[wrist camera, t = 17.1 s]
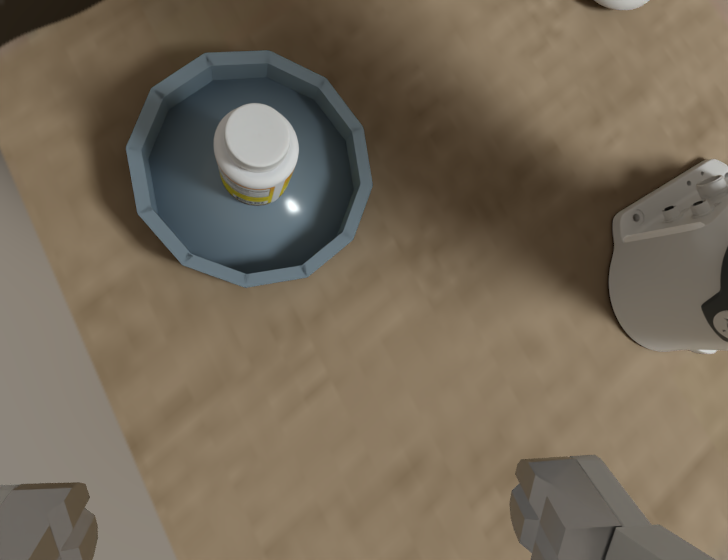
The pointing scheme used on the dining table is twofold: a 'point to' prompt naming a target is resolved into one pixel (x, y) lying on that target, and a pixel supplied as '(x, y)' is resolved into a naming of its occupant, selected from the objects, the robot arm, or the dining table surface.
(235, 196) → the supplement bottle
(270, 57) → the slate dish
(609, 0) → the flower in vase
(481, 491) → the dining table surface
